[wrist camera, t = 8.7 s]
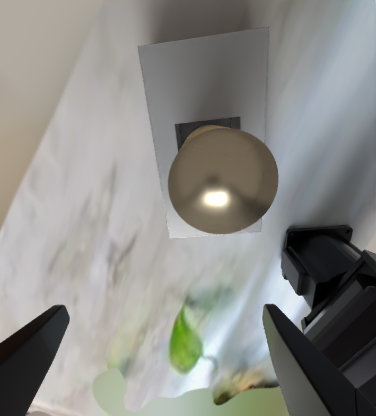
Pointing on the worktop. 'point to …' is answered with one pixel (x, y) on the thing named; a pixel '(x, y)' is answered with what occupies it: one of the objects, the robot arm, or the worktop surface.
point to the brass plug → (222, 180)
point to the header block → (203, 96)
